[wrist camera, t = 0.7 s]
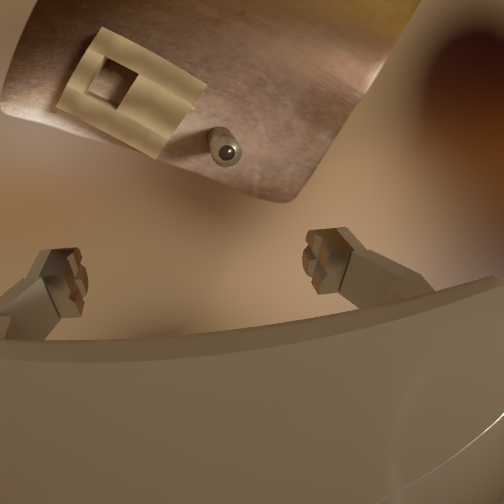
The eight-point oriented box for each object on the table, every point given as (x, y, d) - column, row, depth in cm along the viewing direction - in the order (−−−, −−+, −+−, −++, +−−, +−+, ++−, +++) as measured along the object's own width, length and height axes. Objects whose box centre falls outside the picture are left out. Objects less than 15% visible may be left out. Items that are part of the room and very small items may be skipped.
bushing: (216, 121, 42) (223, 133, 36) (237, 135, 44) (247, 149, 38) (201, 142, 43) (205, 157, 37) (222, 155, 45) (230, 172, 39)
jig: (107, 29, 29) (102, 26, 26) (205, 84, 38) (207, 85, 35) (64, 103, 33) (55, 106, 31) (157, 152, 42) (156, 159, 40)
